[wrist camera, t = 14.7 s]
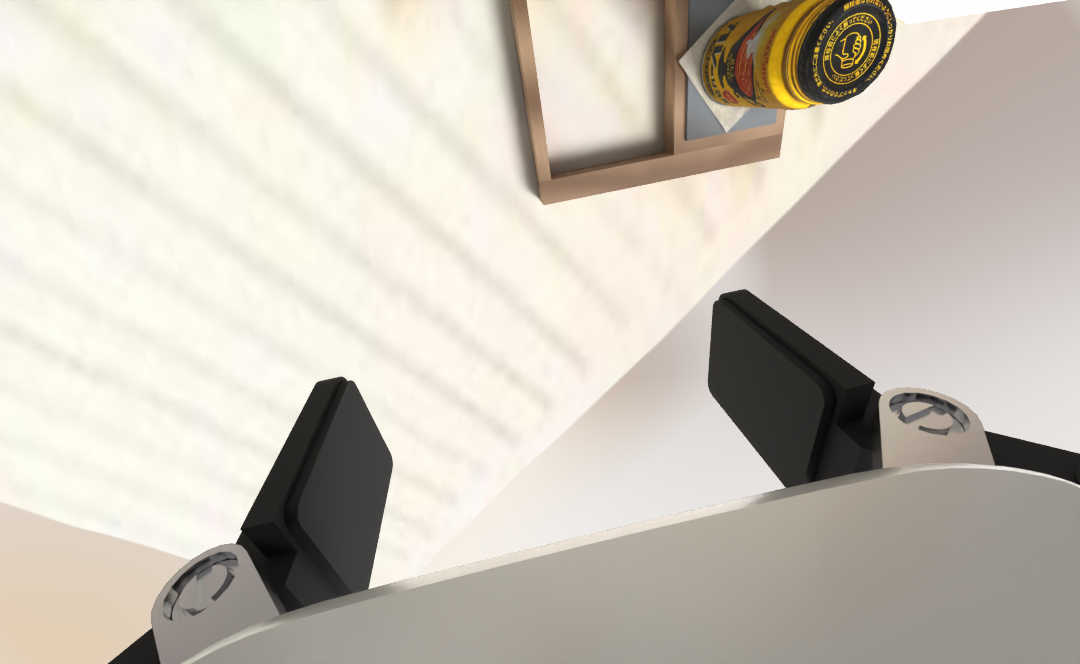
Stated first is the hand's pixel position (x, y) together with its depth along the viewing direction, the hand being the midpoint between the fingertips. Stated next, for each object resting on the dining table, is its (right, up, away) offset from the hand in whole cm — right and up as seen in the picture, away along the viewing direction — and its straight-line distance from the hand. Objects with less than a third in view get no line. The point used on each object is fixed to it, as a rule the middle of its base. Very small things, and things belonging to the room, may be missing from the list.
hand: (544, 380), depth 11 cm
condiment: (+16, +23, +22) cm, 36 cm away
